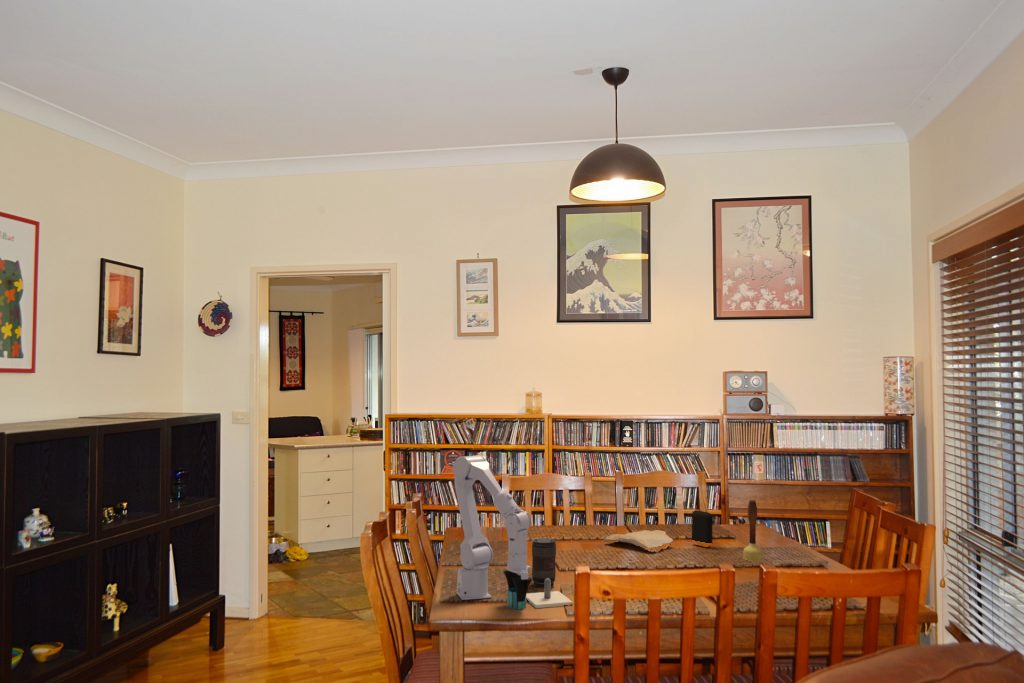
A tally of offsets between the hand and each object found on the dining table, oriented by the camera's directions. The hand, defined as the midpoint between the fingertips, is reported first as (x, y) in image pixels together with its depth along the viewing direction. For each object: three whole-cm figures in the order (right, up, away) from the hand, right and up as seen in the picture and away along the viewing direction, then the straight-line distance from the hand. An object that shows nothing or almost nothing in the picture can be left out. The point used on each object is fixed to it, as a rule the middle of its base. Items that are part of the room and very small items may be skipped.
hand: (517, 597), depth 225 cm
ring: (0, -3, 0) cm, 3 cm away
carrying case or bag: (+78, -9, +86) cm, 116 cm away
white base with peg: (+9, -3, +6) cm, 12 cm away
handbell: (+88, -7, +51) cm, 102 cm away
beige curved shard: (+52, -9, +86) cm, 101 cm away
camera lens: (+9, -4, +24) cm, 26 cm away
